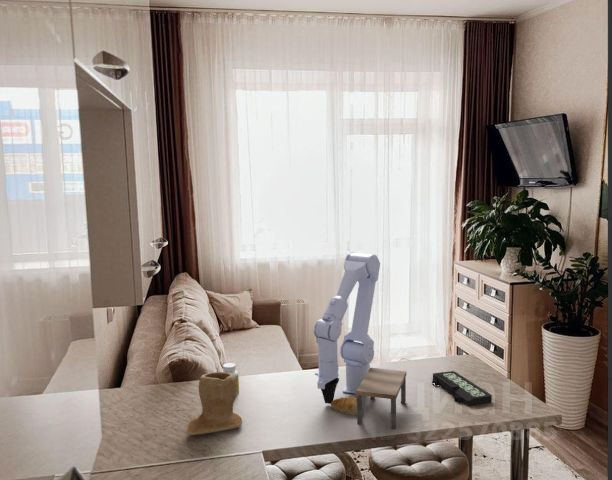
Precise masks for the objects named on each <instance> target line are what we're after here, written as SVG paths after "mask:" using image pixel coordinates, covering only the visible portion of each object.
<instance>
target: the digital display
mask: <svg viewBox="0 0 612 480" xmlns="http://www.w3.org/2000/svg"><path fill="white" fill-rule="evenodd" d="M432 383H435V385H440V386H441V387H440V386H439V387H440V388H442V389H443V390H444V391H446V392H447V393H449V394H450V395H451V396H452V397H453V398H454V399H453V400H454V402H456V403H457V404H461V403H462V404H463V405H465V406H467V407H475V406H480V405H481V406H482V405H488V404H491V403H492V401H493V400H492V398H493V395H492V394H491V393H489V392H488V391H486V390H485V389H483V388H482V387H480V386H478V385H477V384H475V383H473V382H472V381H471V380H469V379H467V378H466V377H464V376H463V375H461V374H459V373H458V372H457V371H455V370H450V371H442V372H433V373H432V380H431V384H432Z"/></svg>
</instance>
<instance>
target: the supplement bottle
mask: <svg viewBox="0 0 612 480" xmlns="http://www.w3.org/2000/svg"><path fill="white" fill-rule="evenodd" d="M222 370H223V371H222V372H226V373H231V374H233V375H234V376H235V378H236V386H237V388H236V397H237V396H238V395H239V394H240V382H239V379H240V378H239V371H238V370H237V366H236V363H235V362H227V363H224V364H223V365H222Z"/></svg>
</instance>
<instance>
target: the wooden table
mask: <svg viewBox="0 0 612 480" xmlns="http://www.w3.org/2000/svg"><path fill="white" fill-rule="evenodd" d="M406 377H407V370H397V369H387V368H377V367H370V369H369V371H368V372H367V374H366V376H365V377H364V379H363V380H362V382H361V384H360V385H359V387H358V388H357V390H356V394H355V395H356V398H357V415H356V417H357V418H356V419H357V421H356V422H357V425H362V424H363V420H364V419H363V413H364V412H363V410H364V409H363V408H362V401H363V397H370V399H369V400H372V401H375V399H376V398H379V399H380V398H381V399H387V400H390V428H391V429H393V430H396V428H397V398H398V396H399V393H400V403H401V404H403V403H404V405H405V404H406V403H405V402H406V400H407V399H406V396H407V395H406V393H407V391H406V389H407V386H406V385H407V384H406V381H407V380H406Z"/></svg>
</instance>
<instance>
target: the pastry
mask: <svg viewBox="0 0 612 480" xmlns="http://www.w3.org/2000/svg"><path fill="white" fill-rule="evenodd" d="M330 405H331V408H332V409H333V411H336V412H338V413H342V414H345V415H350V416H357V397H354V396H353V397H352V396H348V397H346V396H345V397H340V398H336V399H333V402H331V404H330ZM363 408H364V402H363V400H362V409H363Z"/></svg>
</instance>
